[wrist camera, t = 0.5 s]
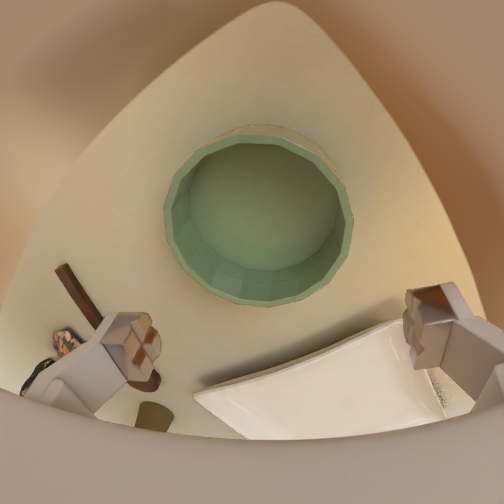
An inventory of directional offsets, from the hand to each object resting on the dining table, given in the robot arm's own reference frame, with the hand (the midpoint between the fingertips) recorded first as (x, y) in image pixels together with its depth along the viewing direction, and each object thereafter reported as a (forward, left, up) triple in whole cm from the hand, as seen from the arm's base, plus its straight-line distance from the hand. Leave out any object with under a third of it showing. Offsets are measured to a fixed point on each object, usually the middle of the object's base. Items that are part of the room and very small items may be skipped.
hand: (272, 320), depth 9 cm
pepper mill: (+30, -32, -17) cm, 47 cm away
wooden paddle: (+12, -28, -17) cm, 35 cm away
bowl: (+2, -3, -17) cm, 18 cm away
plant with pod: (+14, -39, -17) cm, 45 cm away
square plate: (+31, -3, -17) cm, 36 cm away
